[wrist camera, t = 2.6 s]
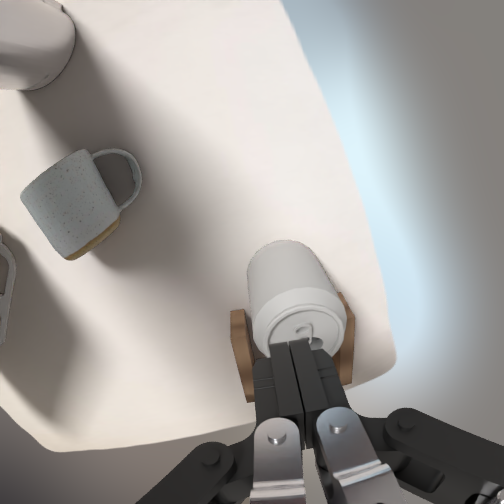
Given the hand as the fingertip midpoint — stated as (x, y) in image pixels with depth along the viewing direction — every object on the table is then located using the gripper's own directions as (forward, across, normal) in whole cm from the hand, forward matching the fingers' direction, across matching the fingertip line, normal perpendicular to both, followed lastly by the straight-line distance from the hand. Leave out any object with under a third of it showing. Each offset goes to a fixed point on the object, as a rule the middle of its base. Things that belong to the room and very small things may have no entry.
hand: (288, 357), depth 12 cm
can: (+21, -2, +7) cm, 22 cm away
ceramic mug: (+21, +15, -5) cm, 26 cm away
